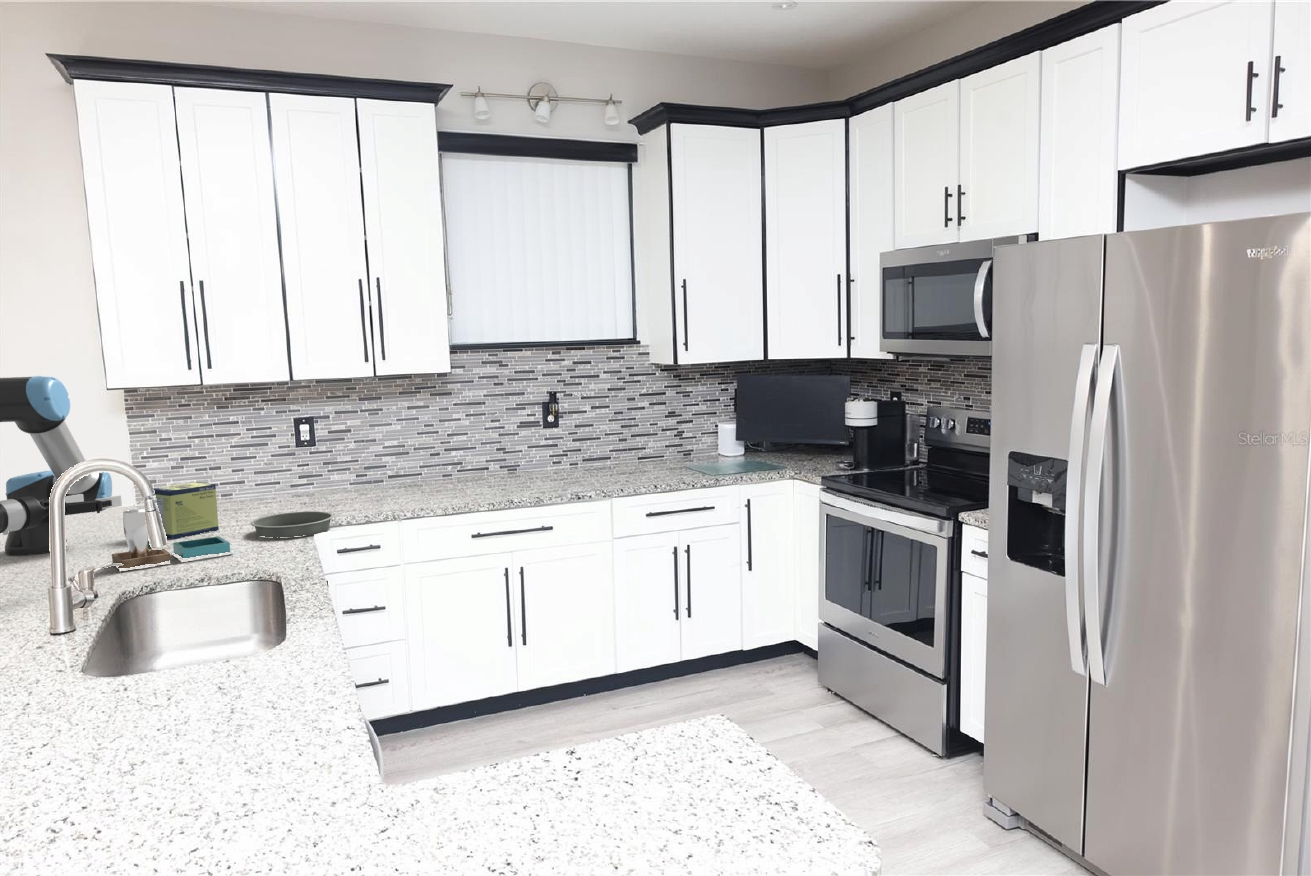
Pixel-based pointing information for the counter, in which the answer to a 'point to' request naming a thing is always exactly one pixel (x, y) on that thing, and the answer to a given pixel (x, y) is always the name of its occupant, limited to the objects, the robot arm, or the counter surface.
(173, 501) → the protein box
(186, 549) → the teal shallow tray
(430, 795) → the counter surface
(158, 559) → the brown square tray
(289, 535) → the cake pan
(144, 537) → the beer glass
